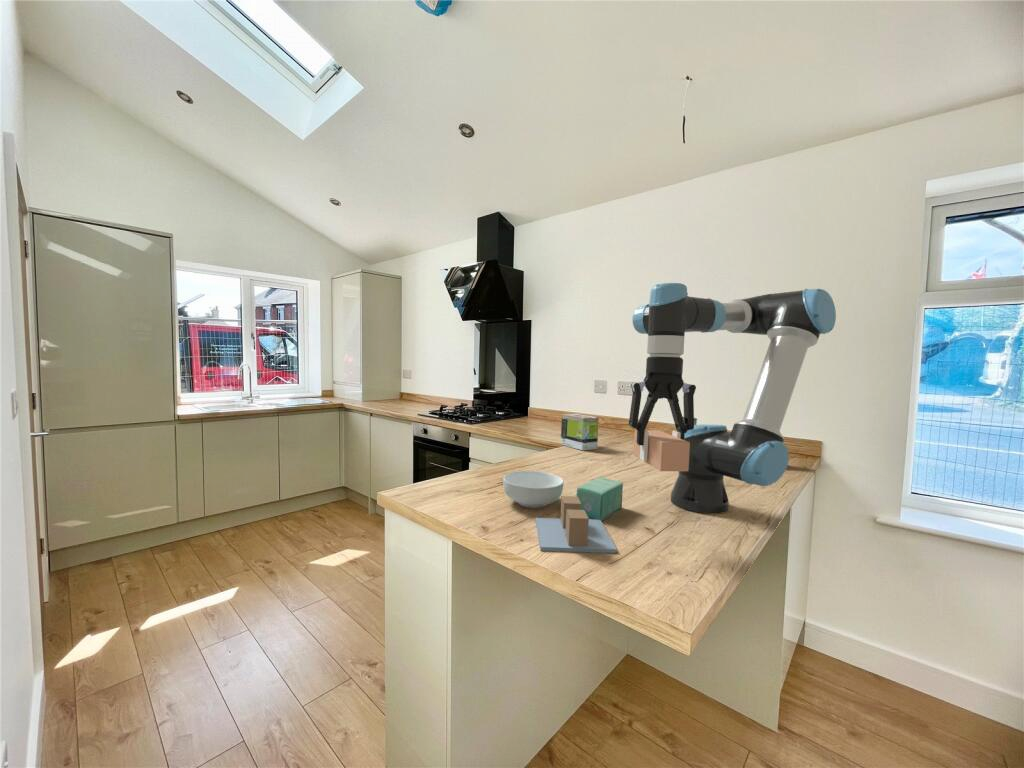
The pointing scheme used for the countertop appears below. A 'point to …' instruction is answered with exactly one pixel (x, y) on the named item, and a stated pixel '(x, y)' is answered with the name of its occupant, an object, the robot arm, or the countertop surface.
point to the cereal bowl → (532, 488)
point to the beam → (665, 451)
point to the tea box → (579, 431)
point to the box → (600, 497)
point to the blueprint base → (559, 541)
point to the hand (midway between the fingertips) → (659, 460)
